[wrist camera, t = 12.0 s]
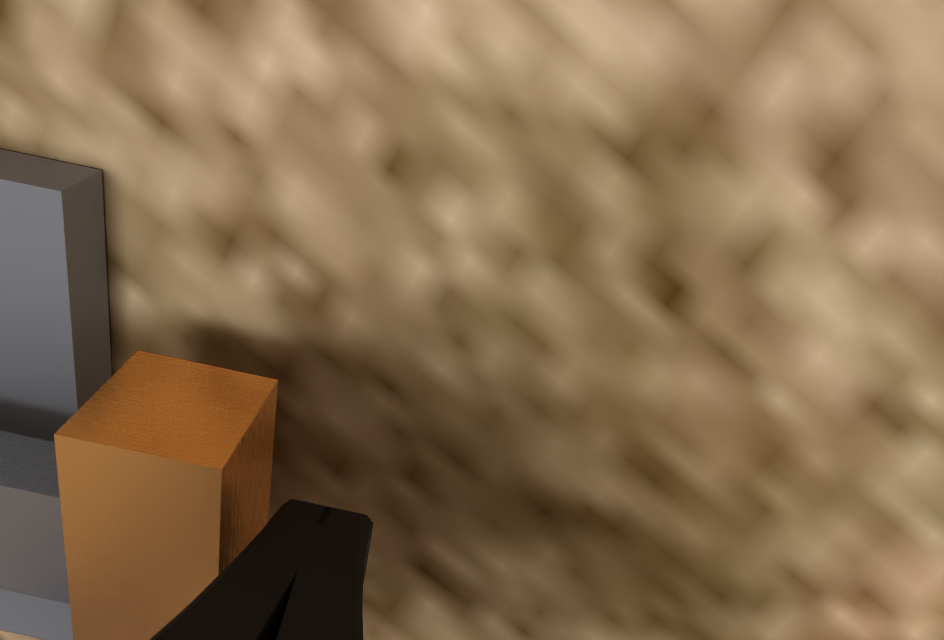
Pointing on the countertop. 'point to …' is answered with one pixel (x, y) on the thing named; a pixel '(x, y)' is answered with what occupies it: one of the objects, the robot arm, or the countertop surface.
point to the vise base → (49, 323)
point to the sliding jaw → (138, 494)
